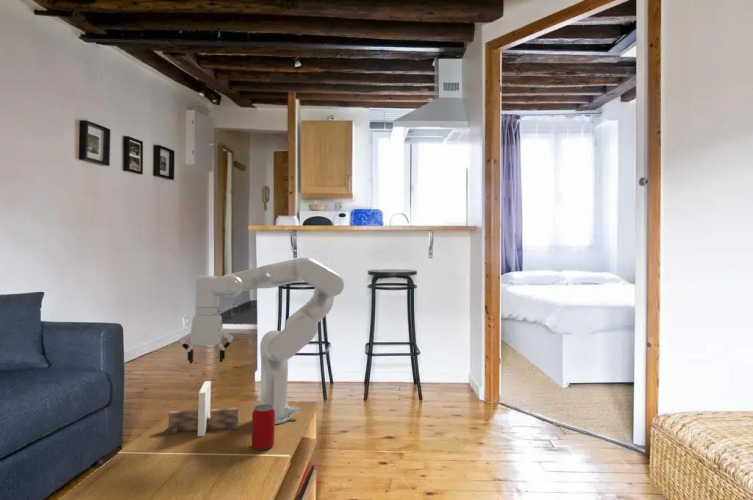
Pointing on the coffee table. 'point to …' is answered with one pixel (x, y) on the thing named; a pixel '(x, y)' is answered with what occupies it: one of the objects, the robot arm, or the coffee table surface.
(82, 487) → the coffee table surface
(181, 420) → the walnut slotted board
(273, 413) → the beverage can
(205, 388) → the pale notched plate
